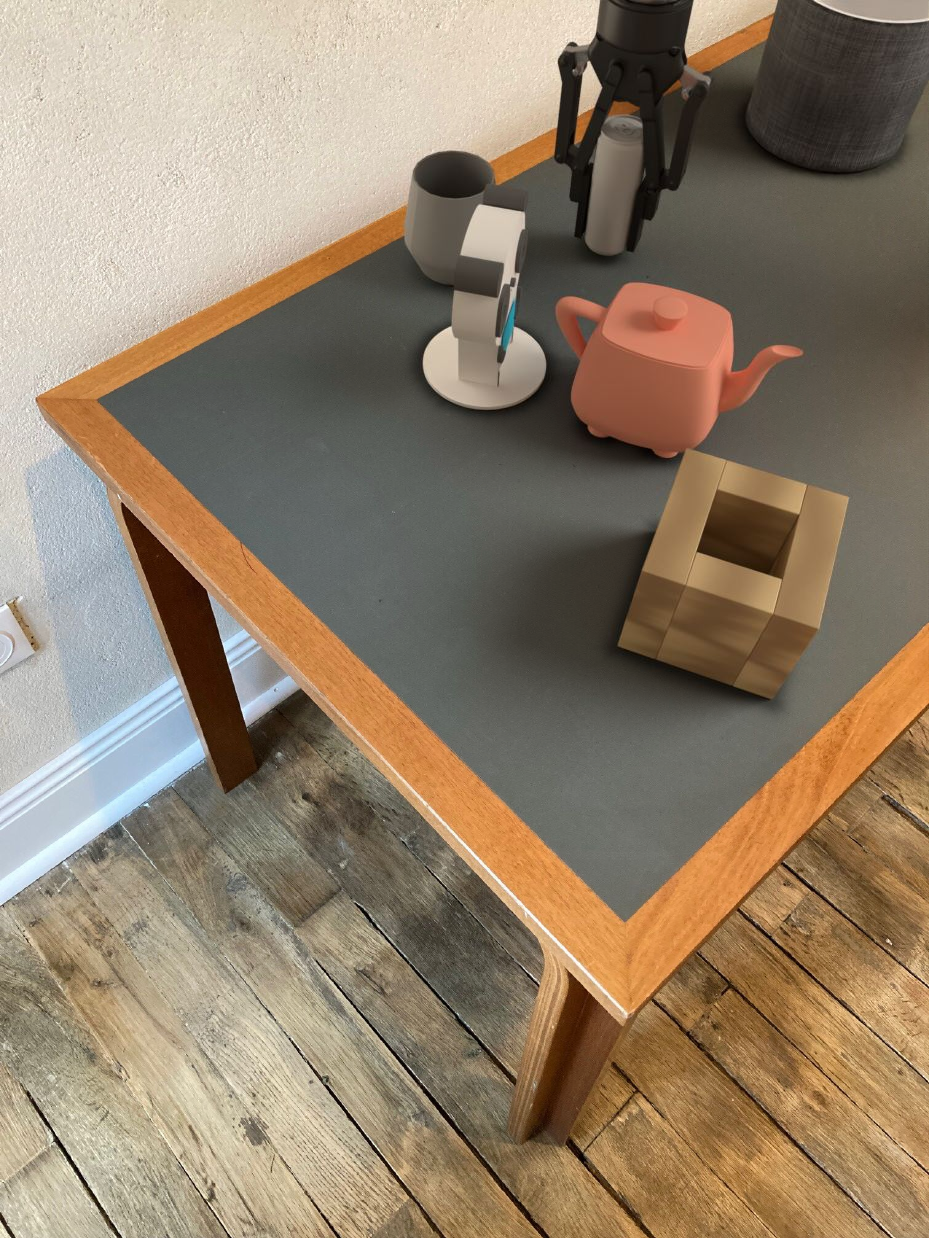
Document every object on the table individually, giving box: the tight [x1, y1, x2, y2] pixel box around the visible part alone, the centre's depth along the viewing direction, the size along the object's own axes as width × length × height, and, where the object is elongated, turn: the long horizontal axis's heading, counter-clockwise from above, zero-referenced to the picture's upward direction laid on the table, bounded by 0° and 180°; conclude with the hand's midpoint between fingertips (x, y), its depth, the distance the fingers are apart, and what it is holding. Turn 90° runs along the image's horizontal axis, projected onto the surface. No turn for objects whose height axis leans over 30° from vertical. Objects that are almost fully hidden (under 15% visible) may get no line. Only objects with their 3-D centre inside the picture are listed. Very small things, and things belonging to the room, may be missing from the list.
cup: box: [403, 150, 497, 286], centre depth 90 cm, size 10×9×10 cm
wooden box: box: [617, 448, 850, 700], centre depth 69 cm, size 12×12×10 cm
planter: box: [745, 0, 929, 173], centre depth 102 cm, size 18×18×16 cm
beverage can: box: [583, 114, 645, 256], centre depth 91 cm, size 5×5×12 cm
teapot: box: [555, 282, 804, 459], centre depth 79 cm, size 20×12×12 cm, turn 67°
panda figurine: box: [422, 183, 547, 411], centre depth 80 cm, size 12×11×15 cm
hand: (607, 236), depth 95 cm, fingers closed on beverage can, 5 cm apart
